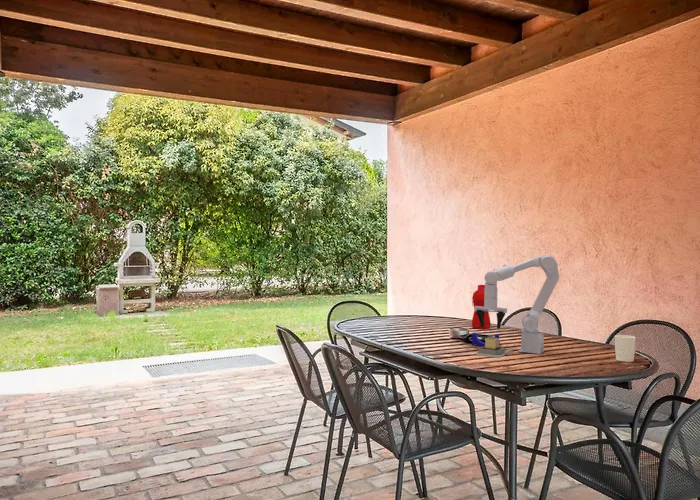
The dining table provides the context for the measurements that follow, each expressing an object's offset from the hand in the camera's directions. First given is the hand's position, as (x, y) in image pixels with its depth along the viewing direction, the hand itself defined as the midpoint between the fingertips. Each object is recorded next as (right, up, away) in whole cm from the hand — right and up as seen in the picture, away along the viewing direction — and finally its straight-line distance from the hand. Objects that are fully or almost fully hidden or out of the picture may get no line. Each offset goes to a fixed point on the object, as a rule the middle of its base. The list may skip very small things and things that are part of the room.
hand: (490, 327), depth 256 cm
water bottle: (+11, -10, +68) cm, 69 cm away
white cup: (+51, -11, -21) cm, 56 cm away
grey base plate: (0, -10, -9) cm, 13 cm away
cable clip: (0, -10, +9) cm, 14 cm away
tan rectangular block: (-2, -9, -12) cm, 15 cm away
